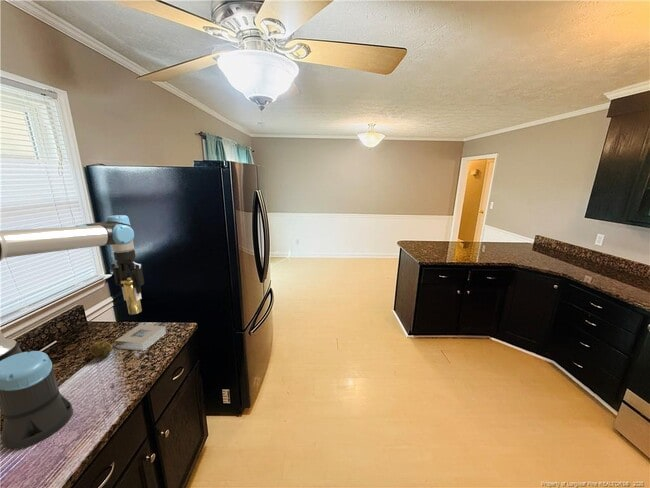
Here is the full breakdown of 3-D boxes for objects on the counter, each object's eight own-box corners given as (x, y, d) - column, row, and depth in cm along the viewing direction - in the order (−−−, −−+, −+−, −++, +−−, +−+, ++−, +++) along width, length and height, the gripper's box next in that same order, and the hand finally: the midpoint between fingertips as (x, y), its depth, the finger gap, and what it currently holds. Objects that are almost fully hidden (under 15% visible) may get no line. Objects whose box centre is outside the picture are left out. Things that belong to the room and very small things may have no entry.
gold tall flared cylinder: (135, 315, 119) (129, 282, 115) (123, 314, 120) (116, 281, 116) (146, 309, 125) (141, 277, 121) (135, 308, 126) (129, 276, 122)
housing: (143, 350, 119) (142, 342, 118) (116, 348, 121) (114, 340, 120) (166, 333, 132) (164, 326, 131) (141, 331, 134) (139, 324, 133)
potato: (117, 344, 123) (114, 329, 121) (111, 360, 112) (107, 344, 110) (95, 350, 119) (91, 334, 118) (86, 367, 108) (82, 350, 107)
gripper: (149, 248, 118) (156, 297, 123) (113, 248, 121) (122, 295, 126) (135, 253, 111) (143, 304, 116) (98, 252, 113) (108, 301, 119)
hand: (133, 299), depth 121 cm, fingers closed on gold tall flared cylinder, 5 cm apart
